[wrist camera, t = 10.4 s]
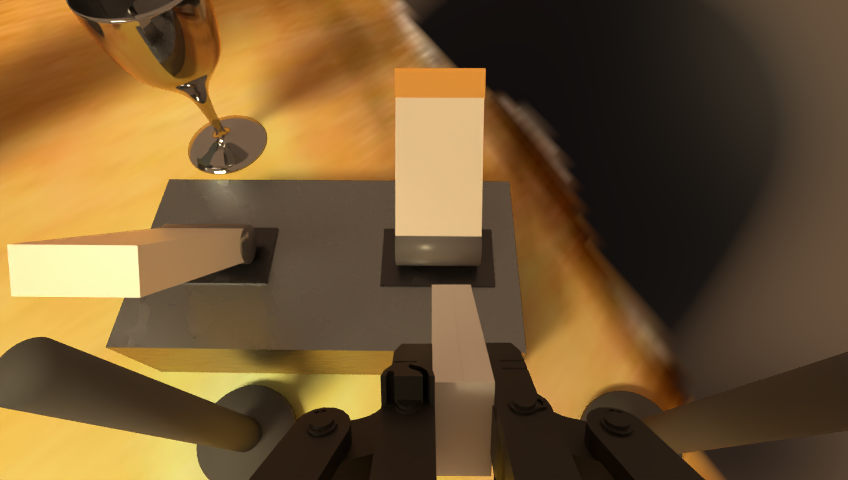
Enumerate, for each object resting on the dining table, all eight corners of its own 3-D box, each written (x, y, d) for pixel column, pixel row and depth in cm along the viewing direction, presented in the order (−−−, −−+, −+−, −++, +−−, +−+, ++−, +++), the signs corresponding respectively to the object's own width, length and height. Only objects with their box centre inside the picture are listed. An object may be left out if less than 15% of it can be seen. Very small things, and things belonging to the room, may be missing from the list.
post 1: (191, 417, 29) (-94, 334, 13) (277, 371, 30) (113, 245, 14) (218, 510, 26) (-97, 545, 10) (311, 454, 28) (156, 412, 12)
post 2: (558, 424, 28) (719, 345, 13) (628, 376, 30) (850, 252, 14) (623, 519, 26) (926, 567, 10) (696, 461, 27) (1061, 426, 11)
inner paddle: (257, 260, 28) (140, 302, 17) (179, 260, 28) (11, 301, 17) (256, 223, 28) (137, 240, 16) (177, 222, 28) (6, 239, 17)
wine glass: (197, 191, 38) (75, 35, 25) (173, 132, 41) (55, -32, 28) (283, 154, 40) (213, -8, 27) (254, 101, 43) (178, -66, 30)
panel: (509, 376, 30) (526, 352, 24) (161, 371, 30) (104, 346, 25) (497, 226, 36) (509, 180, 30) (206, 223, 36) (168, 178, 31)
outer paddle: (482, 268, 25) (486, 67, 24) (394, 268, 25) (394, 67, 24) (477, 263, 28) (481, 79, 27) (397, 262, 28) (397, 79, 27)
